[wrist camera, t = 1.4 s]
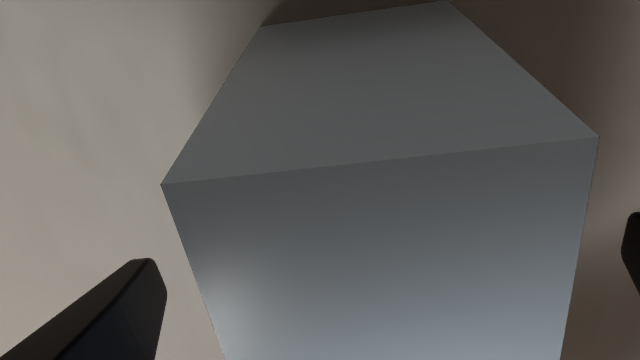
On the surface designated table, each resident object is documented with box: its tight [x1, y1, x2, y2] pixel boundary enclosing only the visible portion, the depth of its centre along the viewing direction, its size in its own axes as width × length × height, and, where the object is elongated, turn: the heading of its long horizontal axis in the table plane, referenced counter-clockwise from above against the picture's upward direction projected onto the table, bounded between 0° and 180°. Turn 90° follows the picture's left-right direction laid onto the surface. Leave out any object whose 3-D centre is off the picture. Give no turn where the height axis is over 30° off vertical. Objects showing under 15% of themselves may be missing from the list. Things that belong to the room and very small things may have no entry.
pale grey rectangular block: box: [160, 0, 600, 360], centre depth 8 cm, size 4×8×6 cm, turn 8°
